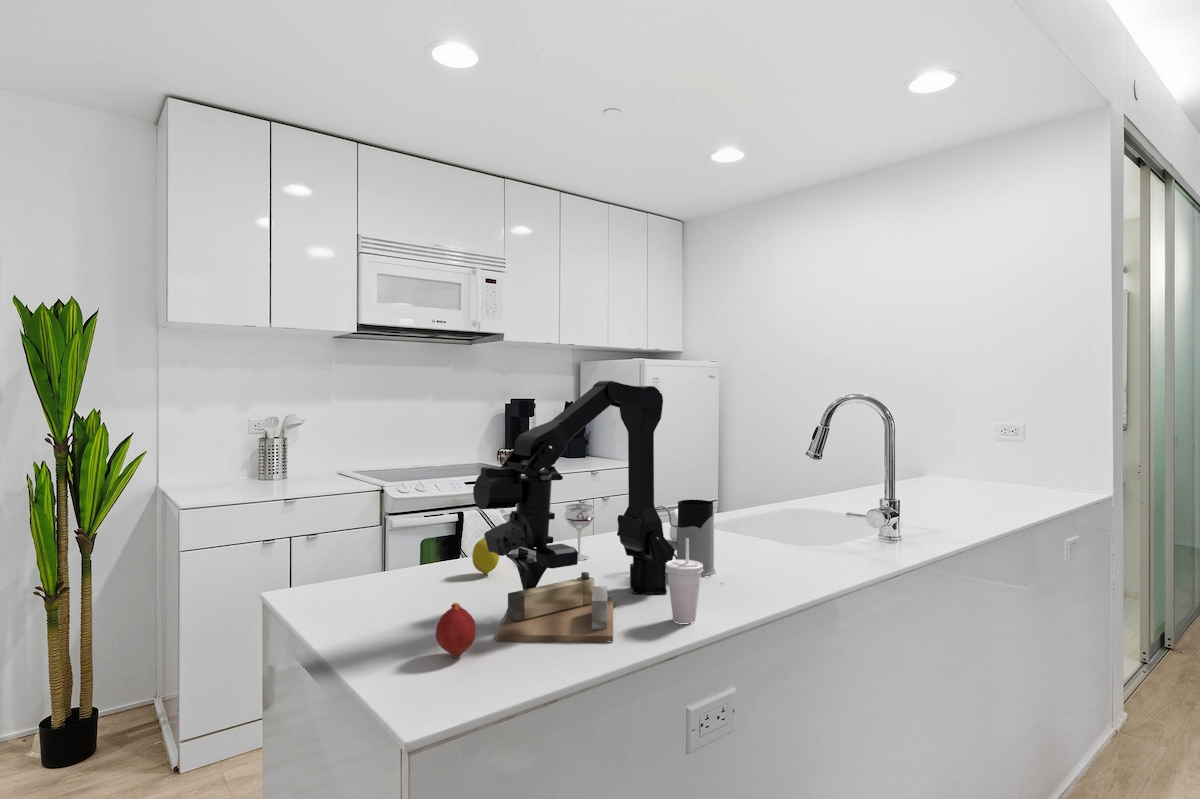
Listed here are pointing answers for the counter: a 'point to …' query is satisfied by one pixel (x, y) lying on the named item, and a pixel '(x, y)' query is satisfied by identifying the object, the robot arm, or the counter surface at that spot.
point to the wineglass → (579, 520)
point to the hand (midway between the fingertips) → (527, 597)
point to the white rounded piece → (675, 522)
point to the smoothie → (684, 587)
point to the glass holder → (695, 532)
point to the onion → (456, 630)
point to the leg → (549, 598)
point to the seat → (566, 622)
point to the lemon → (484, 557)
